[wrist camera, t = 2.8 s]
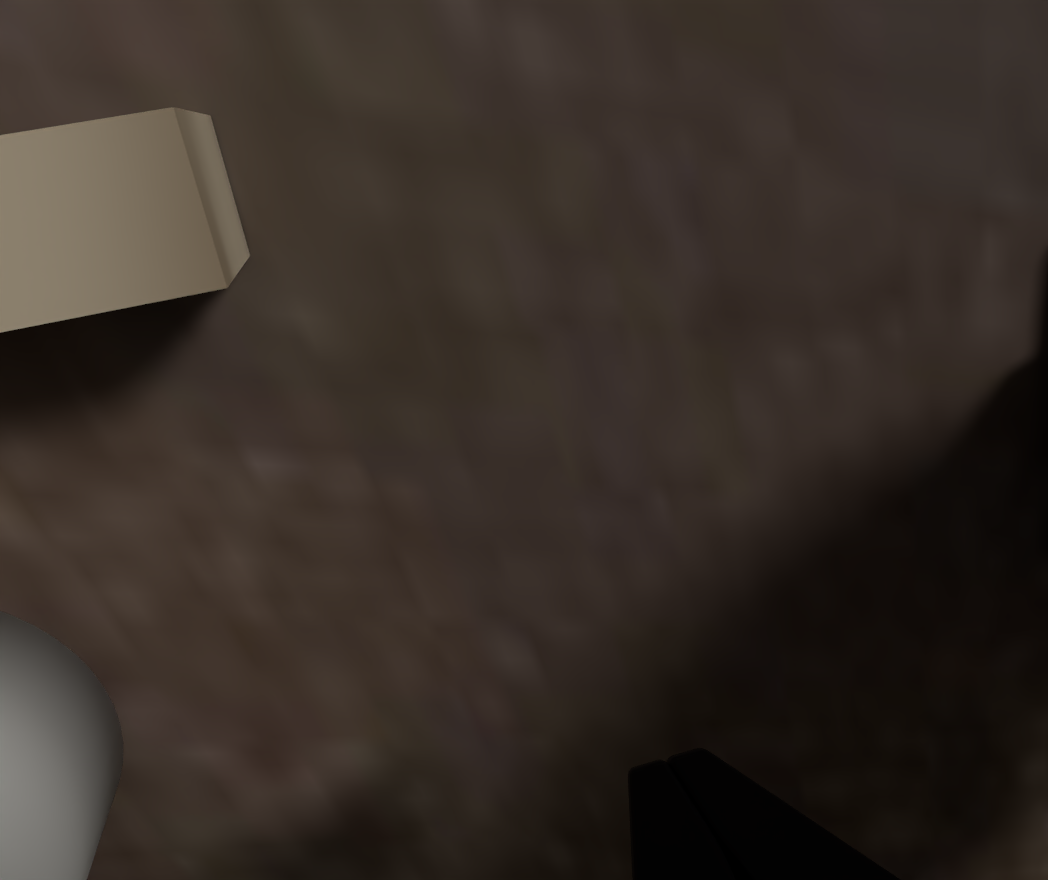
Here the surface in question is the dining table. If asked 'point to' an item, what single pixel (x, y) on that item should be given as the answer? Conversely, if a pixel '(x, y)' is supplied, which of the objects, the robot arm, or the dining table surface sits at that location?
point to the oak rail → (114, 216)
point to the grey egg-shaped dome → (52, 757)
